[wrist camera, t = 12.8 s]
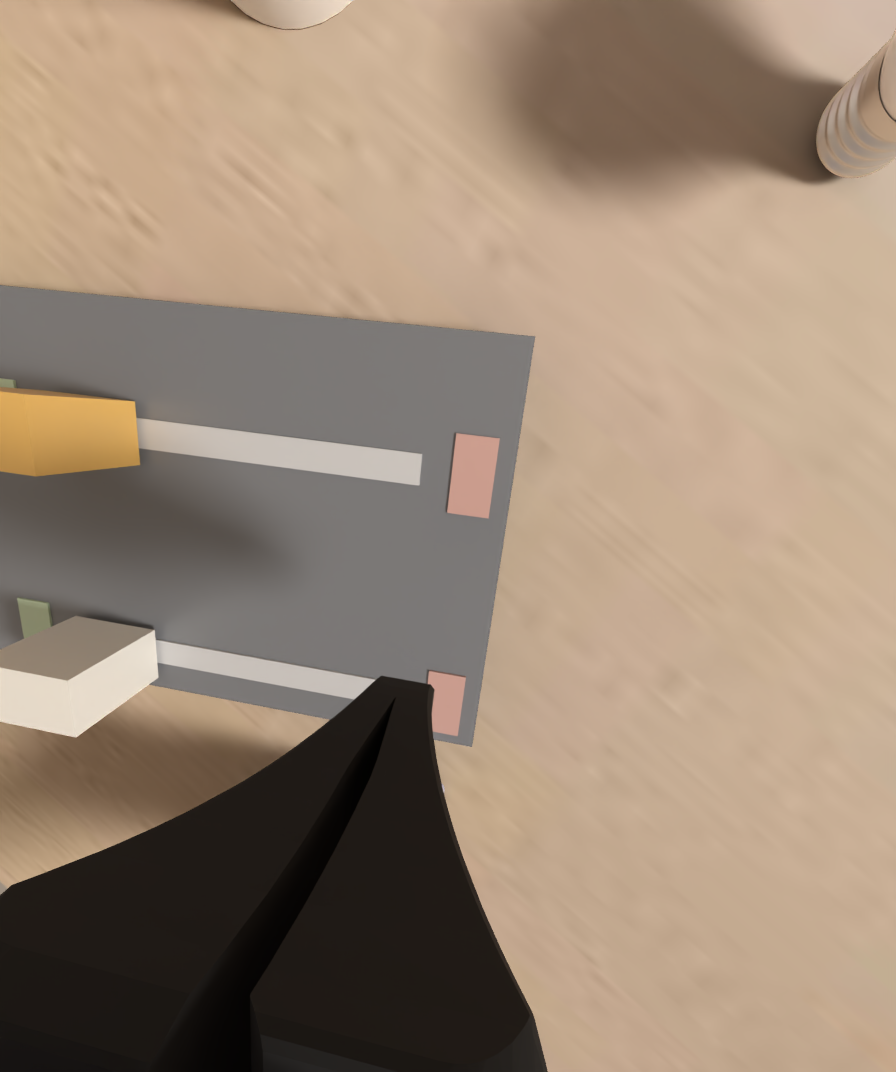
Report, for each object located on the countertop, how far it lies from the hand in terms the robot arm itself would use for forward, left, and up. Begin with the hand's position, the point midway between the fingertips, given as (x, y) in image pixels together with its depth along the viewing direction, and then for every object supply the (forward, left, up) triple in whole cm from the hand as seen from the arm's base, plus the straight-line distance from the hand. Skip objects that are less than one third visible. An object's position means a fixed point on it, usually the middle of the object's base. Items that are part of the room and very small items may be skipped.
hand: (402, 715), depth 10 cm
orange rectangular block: (+5, +15, -7) cm, 17 cm away
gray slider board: (+2, +10, -9) cm, 14 cm away
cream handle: (-5, +15, -7) cm, 17 cm away
